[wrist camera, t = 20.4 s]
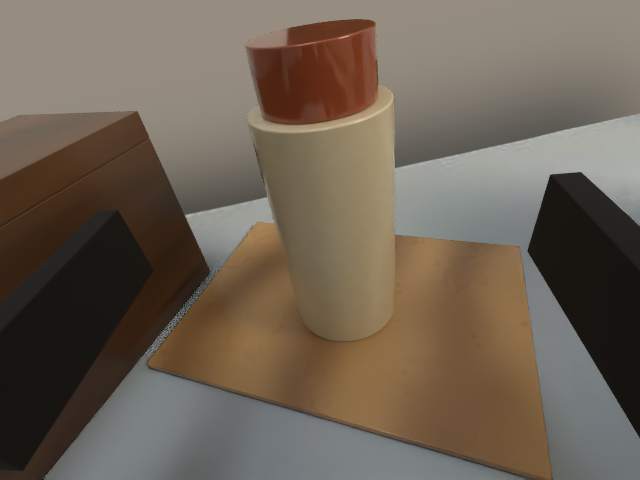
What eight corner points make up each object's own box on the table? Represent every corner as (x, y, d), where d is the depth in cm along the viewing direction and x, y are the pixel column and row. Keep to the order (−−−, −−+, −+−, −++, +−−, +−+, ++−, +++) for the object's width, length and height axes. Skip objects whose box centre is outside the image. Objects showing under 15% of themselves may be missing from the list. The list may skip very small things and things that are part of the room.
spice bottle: (402, 274, 23) (405, 10, 14) (385, 352, 18) (373, 41, 9) (316, 262, 25) (270, 26, 16) (282, 331, 20) (193, 58, 11)
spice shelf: (210, 271, 26) (137, 110, 19) (2, 529, 15) (-395, 375, 7) (113, 255, 29) (18, 115, 22) (-119, 456, 18) (-472, 300, 11)
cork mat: (518, 250, 23) (519, 246, 23) (550, 484, 13) (553, 480, 13) (258, 225, 30) (257, 221, 30) (148, 367, 20) (145, 363, 20)
